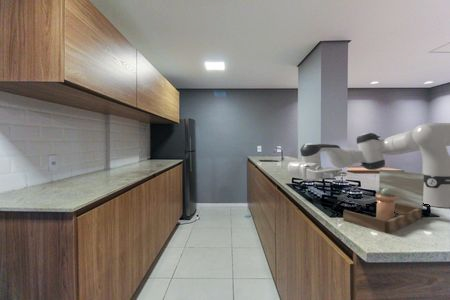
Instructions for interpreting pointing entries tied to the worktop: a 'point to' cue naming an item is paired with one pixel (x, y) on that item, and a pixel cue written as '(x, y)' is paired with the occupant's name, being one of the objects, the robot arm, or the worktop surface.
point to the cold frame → (405, 201)
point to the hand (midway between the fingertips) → (339, 175)
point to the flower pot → (385, 205)
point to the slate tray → (362, 201)
